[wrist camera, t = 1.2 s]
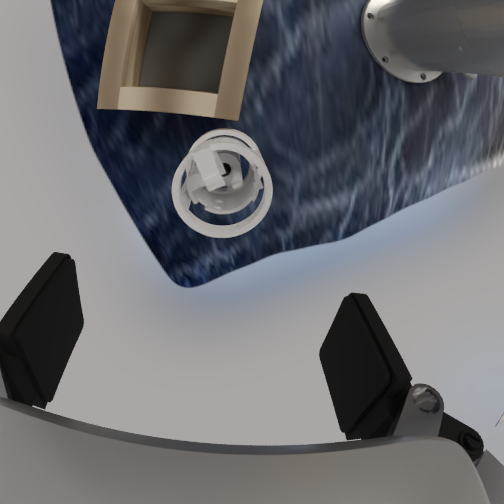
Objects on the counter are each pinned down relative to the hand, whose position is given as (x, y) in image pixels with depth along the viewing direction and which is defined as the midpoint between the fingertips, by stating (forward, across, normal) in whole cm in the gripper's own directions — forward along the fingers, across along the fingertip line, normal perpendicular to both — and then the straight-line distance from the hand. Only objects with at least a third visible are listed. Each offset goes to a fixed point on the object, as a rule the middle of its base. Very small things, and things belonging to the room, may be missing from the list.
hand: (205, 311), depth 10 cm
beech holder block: (+26, +6, -11) cm, 29 cm away
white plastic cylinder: (+27, 0, 0) cm, 27 cm away
